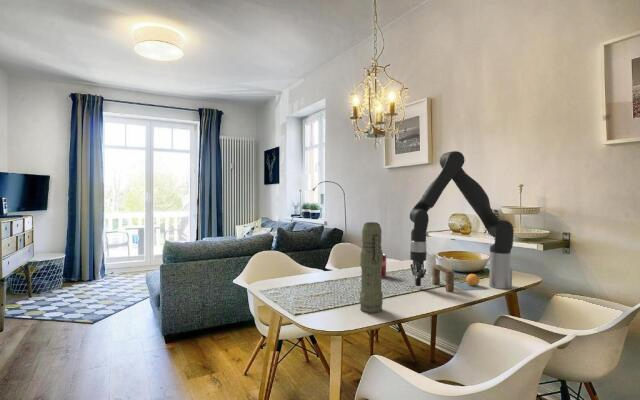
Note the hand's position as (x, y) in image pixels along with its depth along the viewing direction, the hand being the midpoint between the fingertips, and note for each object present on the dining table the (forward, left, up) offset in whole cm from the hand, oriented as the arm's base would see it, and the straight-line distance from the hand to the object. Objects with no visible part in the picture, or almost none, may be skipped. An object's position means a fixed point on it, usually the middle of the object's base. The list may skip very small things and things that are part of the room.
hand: (417, 285), depth 174 cm
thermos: (+32, +25, -2) cm, 41 cm away
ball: (-29, 0, +2) cm, 29 cm away
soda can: (+10, -27, -2) cm, 29 cm away
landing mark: (-27, 0, -2) cm, 27 cm away
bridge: (-13, 0, -2) cm, 13 cm away
